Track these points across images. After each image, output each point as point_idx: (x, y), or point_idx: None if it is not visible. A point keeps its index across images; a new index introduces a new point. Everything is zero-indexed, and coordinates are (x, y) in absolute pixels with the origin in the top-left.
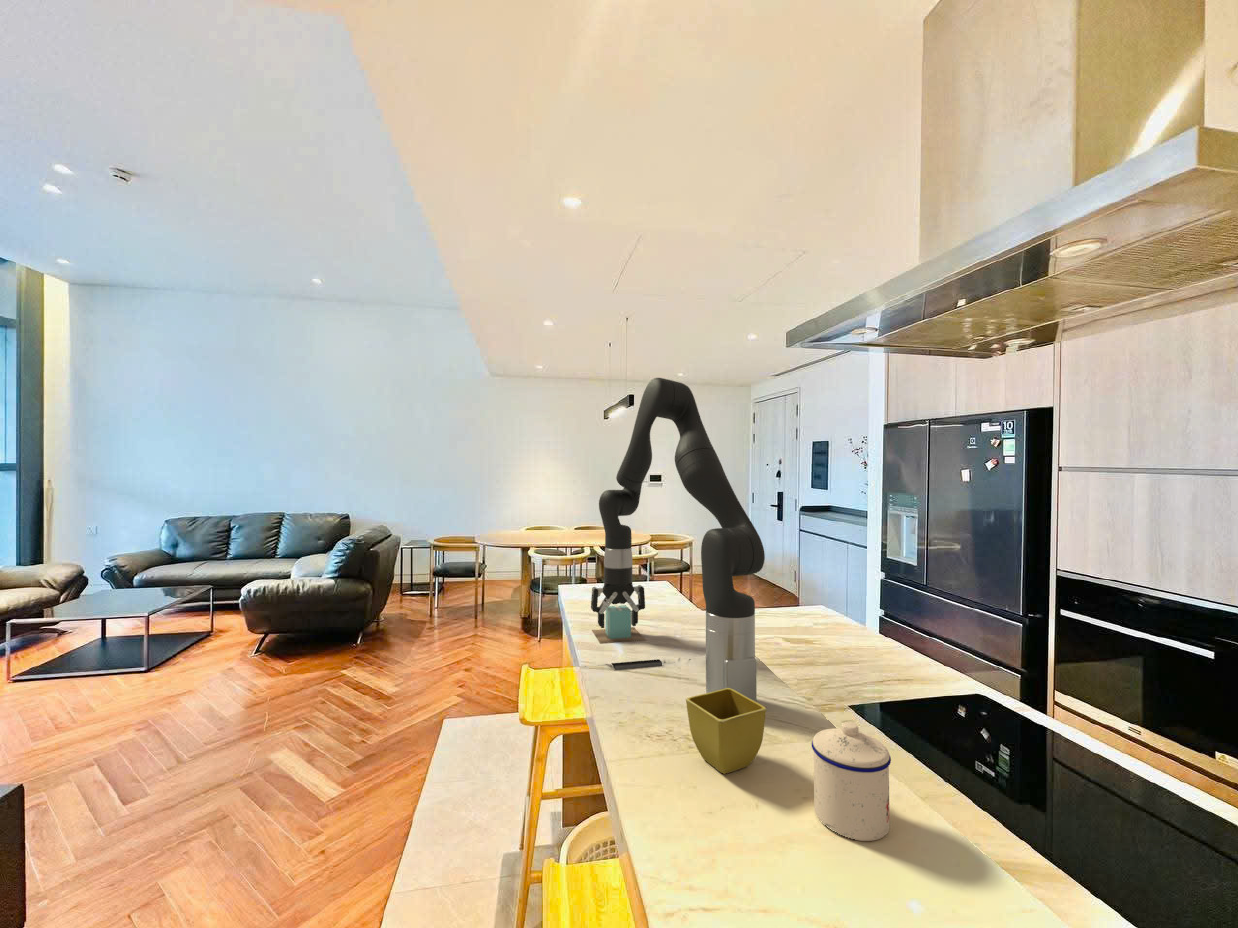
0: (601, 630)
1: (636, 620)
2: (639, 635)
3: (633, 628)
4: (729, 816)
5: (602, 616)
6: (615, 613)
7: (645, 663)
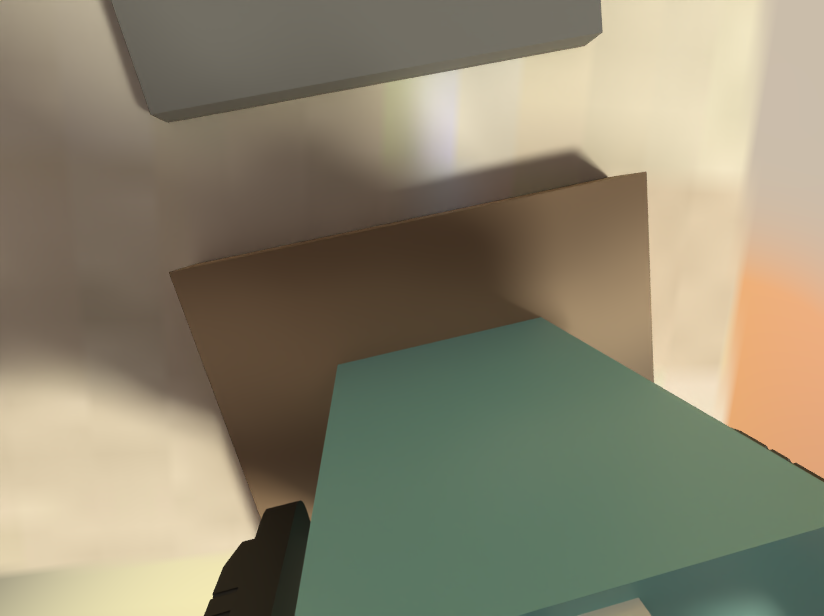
0: None
1: (240, 578)
2: (250, 423)
3: None
4: None
5: None
6: (681, 503)
7: None
